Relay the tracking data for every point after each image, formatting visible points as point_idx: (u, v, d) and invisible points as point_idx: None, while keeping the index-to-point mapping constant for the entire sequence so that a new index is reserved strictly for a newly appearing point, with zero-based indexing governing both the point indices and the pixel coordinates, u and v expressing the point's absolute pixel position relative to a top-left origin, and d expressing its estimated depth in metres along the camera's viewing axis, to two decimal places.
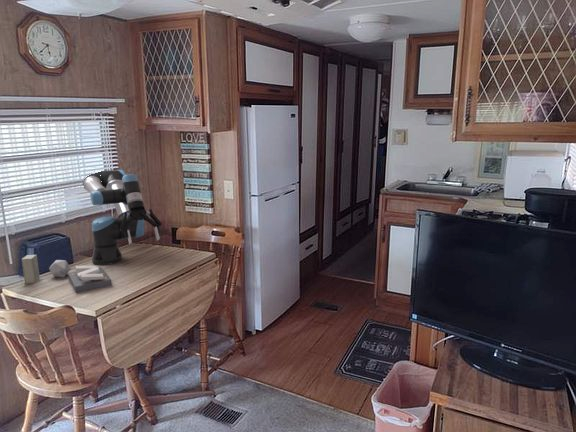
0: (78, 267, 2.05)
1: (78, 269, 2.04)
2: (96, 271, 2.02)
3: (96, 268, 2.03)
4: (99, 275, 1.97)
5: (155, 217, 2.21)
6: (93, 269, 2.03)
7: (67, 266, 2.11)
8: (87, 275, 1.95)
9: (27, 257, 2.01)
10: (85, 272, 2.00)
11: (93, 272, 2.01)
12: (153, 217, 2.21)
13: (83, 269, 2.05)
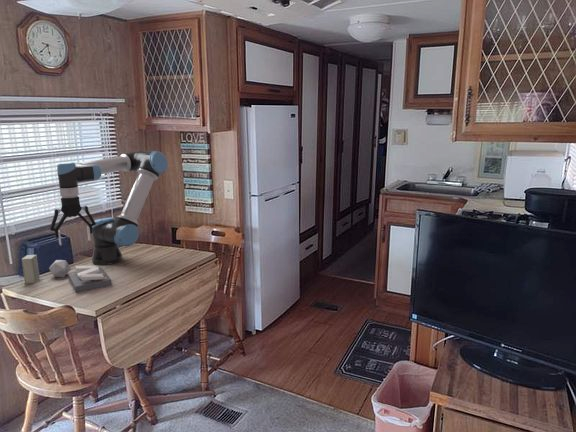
0: (78, 267, 2.05)
1: (78, 269, 2.04)
2: (96, 271, 2.02)
3: (96, 268, 2.03)
4: (99, 275, 1.97)
5: (90, 216, 2.03)
6: (93, 269, 2.03)
7: (67, 266, 2.11)
8: (87, 275, 1.95)
9: (27, 257, 2.01)
10: (85, 272, 2.00)
11: (93, 272, 2.01)
12: (88, 215, 2.03)
13: (83, 269, 2.05)
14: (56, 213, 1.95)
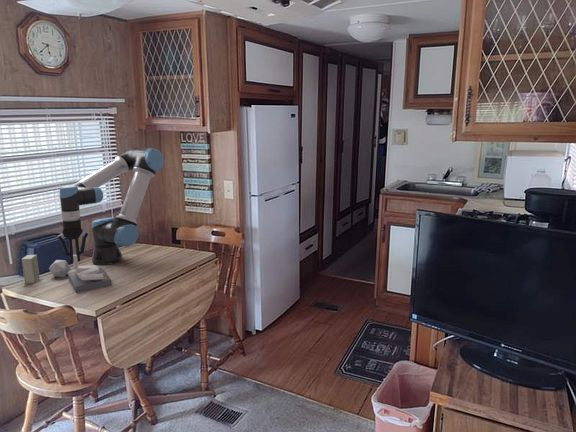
0: (78, 267, 2.05)
1: (78, 269, 2.04)
2: (96, 271, 2.02)
3: (96, 268, 2.03)
4: (99, 275, 1.97)
5: (83, 243, 2.04)
6: (93, 269, 2.03)
7: (67, 266, 2.11)
8: (87, 275, 1.95)
9: (27, 257, 2.01)
10: (85, 272, 2.00)
11: (93, 272, 2.01)
12: (82, 241, 2.04)
13: (83, 269, 2.05)
14: (61, 239, 1.98)
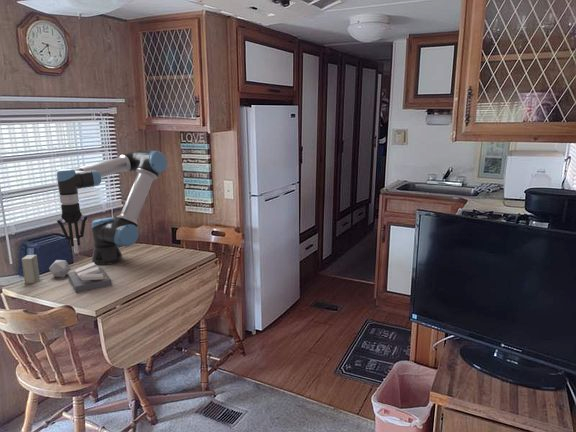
0: (77, 270, 2.05)
1: (78, 272, 2.04)
2: (96, 271, 2.02)
3: (96, 268, 2.03)
4: (99, 275, 1.97)
5: (83, 227, 2.02)
6: (93, 269, 2.03)
7: (67, 266, 2.11)
8: (87, 275, 1.95)
9: (27, 257, 2.01)
10: (85, 272, 2.00)
11: (93, 272, 2.01)
12: (81, 225, 2.02)
13: (82, 270, 2.05)
14: (60, 223, 1.97)
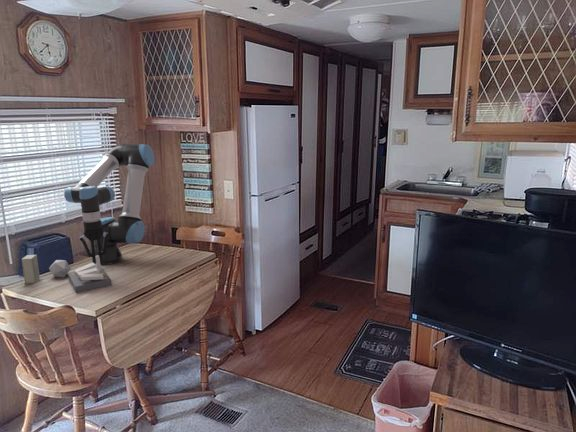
0: (77, 270, 2.05)
1: None
2: (96, 272, 2.02)
3: (96, 269, 2.03)
4: (99, 275, 1.97)
5: (105, 244, 2.03)
6: (93, 269, 2.03)
7: (67, 266, 2.11)
8: (87, 275, 1.95)
9: (27, 257, 2.01)
10: (85, 272, 2.00)
11: (93, 272, 2.01)
12: (104, 242, 2.02)
13: (82, 270, 2.05)
14: (83, 241, 1.97)
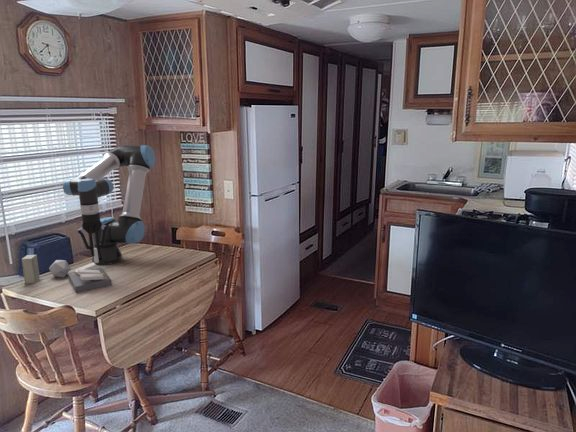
0: (77, 270, 2.05)
1: None
2: None
3: (98, 271, 2.04)
4: (99, 275, 1.97)
5: (103, 236, 2.02)
6: (94, 271, 2.03)
7: (67, 266, 2.11)
8: (87, 275, 1.95)
9: (27, 257, 2.01)
10: (86, 271, 2.01)
11: None
12: (102, 235, 2.02)
13: None
14: (81, 233, 1.96)
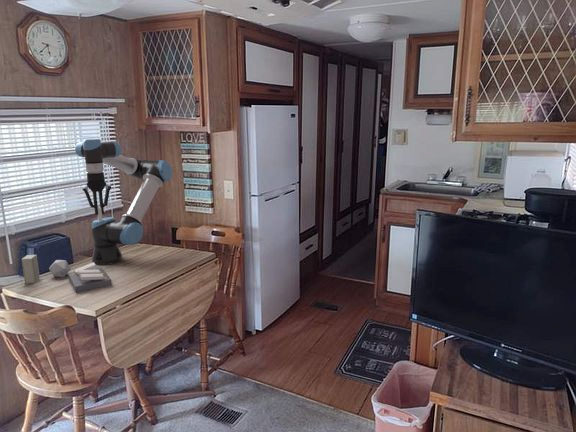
0: (77, 270, 2.05)
1: None
2: (97, 273, 2.02)
3: (97, 270, 2.04)
4: (99, 275, 1.97)
5: (107, 196, 2.08)
6: (94, 270, 2.03)
7: (67, 266, 2.11)
8: (87, 275, 1.95)
9: (27, 257, 2.01)
10: (86, 271, 2.01)
11: (94, 273, 2.01)
12: (106, 194, 2.08)
13: None
14: (86, 191, 2.03)
